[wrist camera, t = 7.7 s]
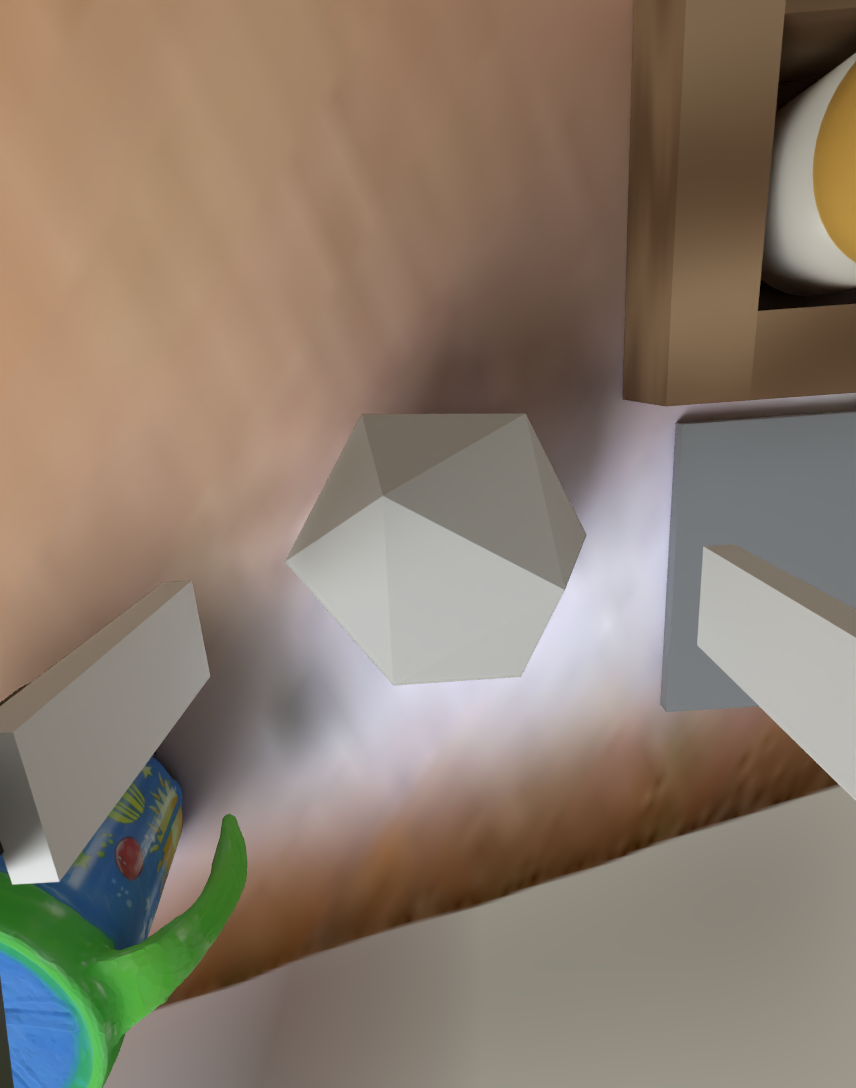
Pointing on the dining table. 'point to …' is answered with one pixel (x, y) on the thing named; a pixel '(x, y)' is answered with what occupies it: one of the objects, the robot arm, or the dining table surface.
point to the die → (441, 544)
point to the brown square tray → (720, 203)
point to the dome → (814, 189)
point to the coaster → (754, 526)
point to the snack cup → (106, 938)
